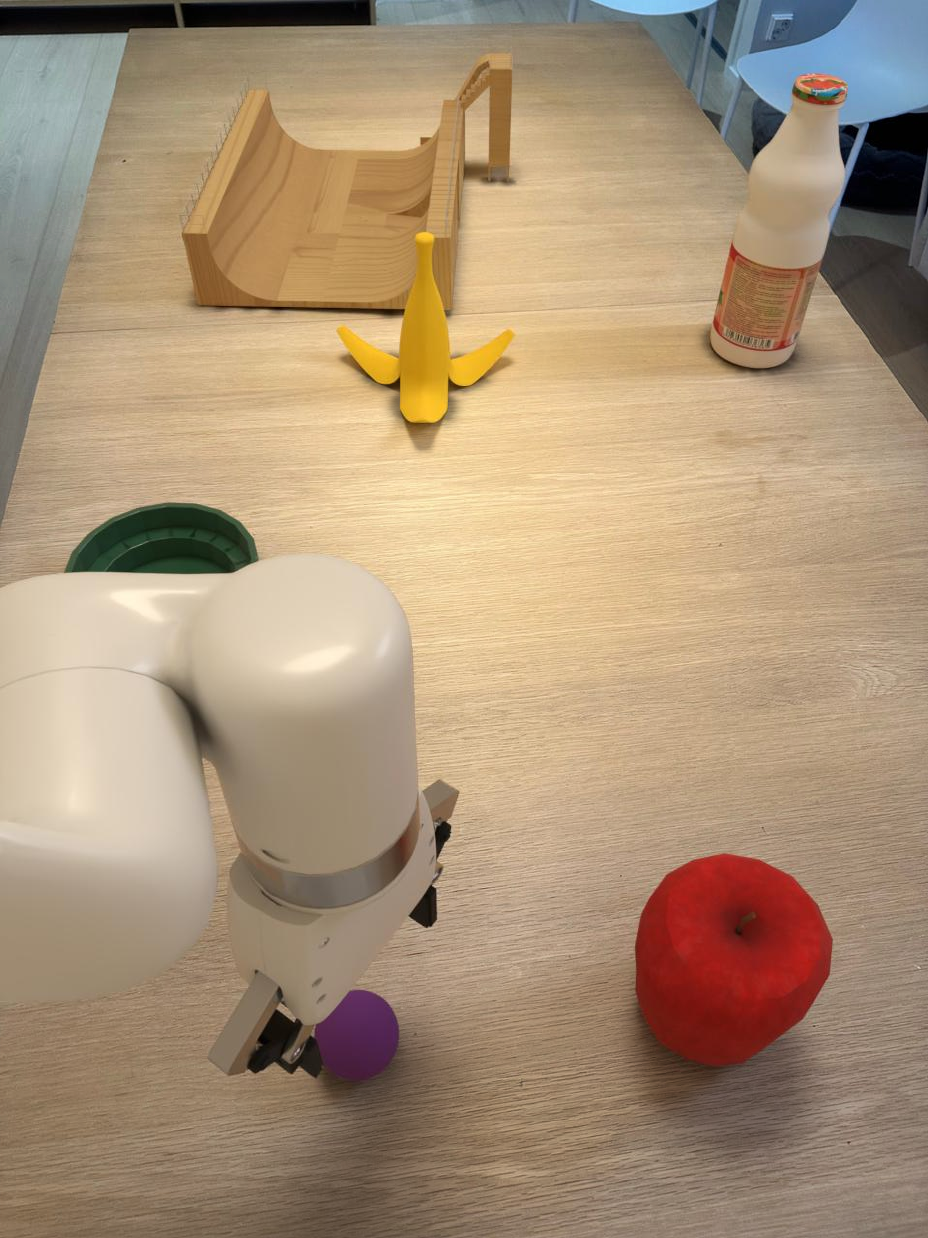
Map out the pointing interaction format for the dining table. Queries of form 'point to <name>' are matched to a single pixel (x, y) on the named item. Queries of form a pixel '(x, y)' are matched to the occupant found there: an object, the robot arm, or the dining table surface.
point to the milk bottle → (782, 230)
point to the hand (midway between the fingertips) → (356, 980)
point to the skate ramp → (335, 208)
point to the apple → (728, 958)
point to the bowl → (166, 542)
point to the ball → (358, 1036)
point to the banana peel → (424, 349)
